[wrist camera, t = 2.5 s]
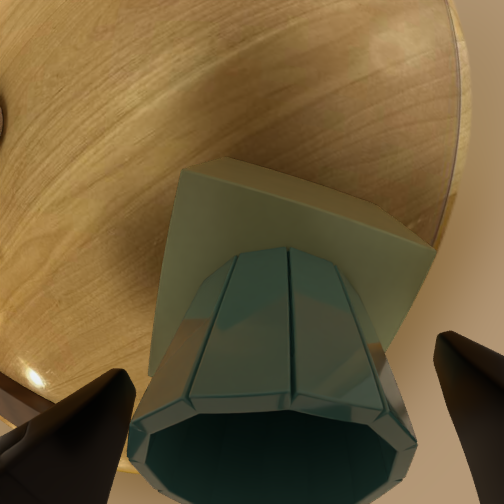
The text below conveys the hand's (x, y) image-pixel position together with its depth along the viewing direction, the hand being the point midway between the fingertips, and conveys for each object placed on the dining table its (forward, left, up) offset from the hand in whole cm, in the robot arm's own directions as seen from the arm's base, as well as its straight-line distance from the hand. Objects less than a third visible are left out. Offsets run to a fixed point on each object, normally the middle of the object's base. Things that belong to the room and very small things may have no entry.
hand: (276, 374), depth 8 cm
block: (-14, +32, -9) cm, 36 cm away
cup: (0, 0, -2) cm, 2 cm away
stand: (0, 0, -9) cm, 9 cm away
